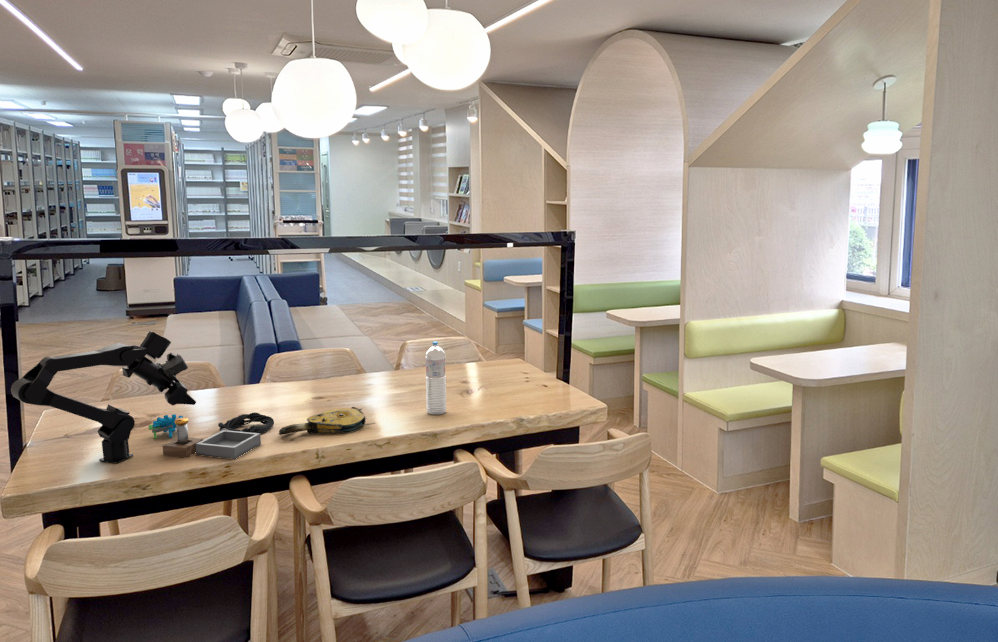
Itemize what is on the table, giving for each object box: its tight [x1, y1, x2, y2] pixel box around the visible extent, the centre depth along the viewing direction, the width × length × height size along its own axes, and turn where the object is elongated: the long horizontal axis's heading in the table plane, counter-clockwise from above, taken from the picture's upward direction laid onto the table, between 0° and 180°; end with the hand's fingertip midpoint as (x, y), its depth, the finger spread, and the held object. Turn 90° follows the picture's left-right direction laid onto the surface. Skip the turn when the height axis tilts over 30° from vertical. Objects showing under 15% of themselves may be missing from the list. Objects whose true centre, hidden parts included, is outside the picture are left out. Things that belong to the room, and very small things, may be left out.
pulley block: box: [277, 406, 376, 436], centre depth 238 cm, size 14×6×30 cm
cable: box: [217, 412, 275, 435], centre depth 237 cm, size 17×14×4 cm
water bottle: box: [424, 341, 447, 416], centre depth 254 cm, size 7×7×25 cm
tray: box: [195, 430, 262, 460], centre depth 220 cm, size 13×13×4 cm
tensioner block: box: [162, 436, 205, 458], centre depth 218 cm, size 8×8×3 cm
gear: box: [148, 414, 184, 440], centre depth 232 cm, size 11×6×10 cm
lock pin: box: [175, 417, 189, 445], centre depth 218 cm, size 4×4×10 cm
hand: (190, 397), depth 228 cm, fingers open, 9 cm apart
